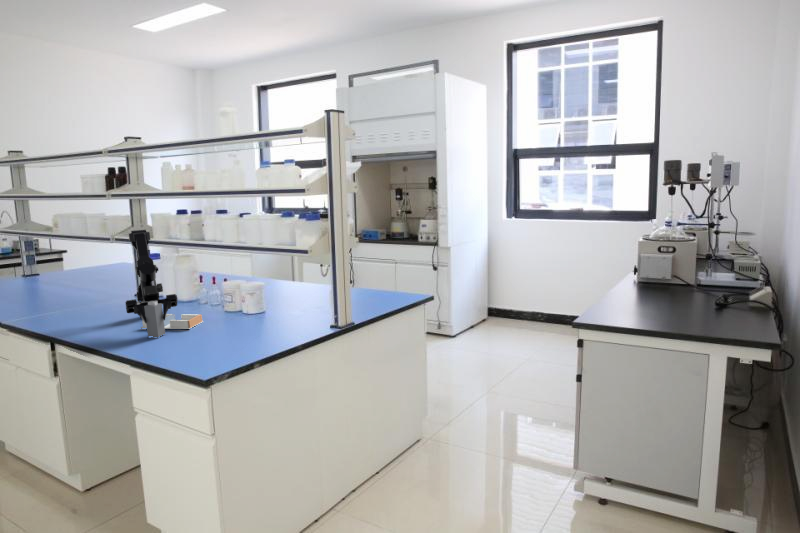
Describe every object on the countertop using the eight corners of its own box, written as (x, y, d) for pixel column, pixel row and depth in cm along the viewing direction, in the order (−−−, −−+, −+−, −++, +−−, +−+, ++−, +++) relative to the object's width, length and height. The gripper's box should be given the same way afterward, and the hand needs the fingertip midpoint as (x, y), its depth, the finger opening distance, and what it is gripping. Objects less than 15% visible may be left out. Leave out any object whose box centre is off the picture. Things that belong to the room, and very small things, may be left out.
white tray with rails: (141, 329, 221) (139, 320, 221) (157, 321, 232) (156, 313, 231) (189, 330, 218) (188, 321, 217) (203, 322, 228) (202, 314, 227)
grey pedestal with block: (148, 338, 209) (143, 303, 206) (155, 334, 213) (150, 300, 211) (158, 338, 208) (154, 303, 206) (165, 334, 213) (161, 300, 210)
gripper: (122, 280, 205) (127, 314, 198) (174, 274, 214) (180, 306, 207) (124, 296, 214) (129, 329, 206) (173, 289, 223) (180, 321, 215)
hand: (155, 321), depth 208 cm, fingers closed on grey pedestal with block, 6 cm apart
